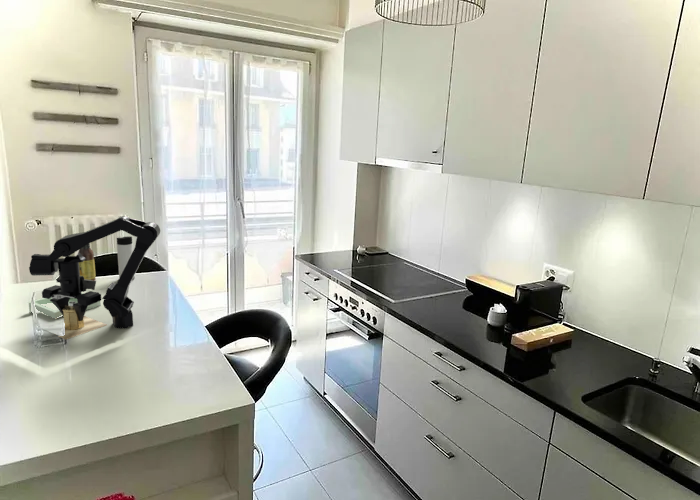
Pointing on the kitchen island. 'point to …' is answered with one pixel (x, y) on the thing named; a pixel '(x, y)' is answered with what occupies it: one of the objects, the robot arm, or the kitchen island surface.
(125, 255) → the travel mug
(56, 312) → the bin
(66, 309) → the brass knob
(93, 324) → the stud plate
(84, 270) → the sauce bottle
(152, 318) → the kitchen island surface
